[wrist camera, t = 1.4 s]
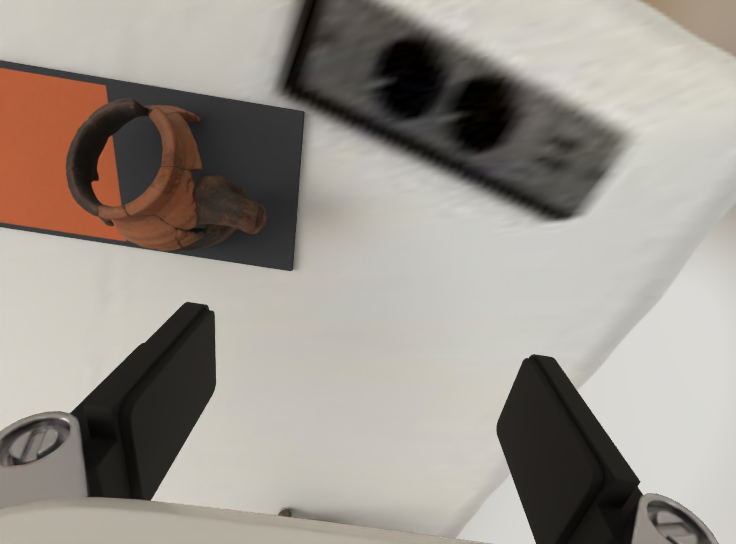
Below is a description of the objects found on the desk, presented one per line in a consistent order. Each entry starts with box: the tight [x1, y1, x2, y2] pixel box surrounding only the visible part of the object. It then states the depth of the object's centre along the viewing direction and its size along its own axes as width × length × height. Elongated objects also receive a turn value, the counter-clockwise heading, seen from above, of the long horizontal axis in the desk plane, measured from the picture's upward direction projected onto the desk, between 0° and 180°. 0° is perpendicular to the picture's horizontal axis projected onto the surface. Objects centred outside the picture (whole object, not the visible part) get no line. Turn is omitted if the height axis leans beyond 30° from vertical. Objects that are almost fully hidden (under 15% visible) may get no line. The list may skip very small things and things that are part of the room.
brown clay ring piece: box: [66, 98, 267, 252], centre depth 24 cm, size 12×10×8 cm
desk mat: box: [0, 61, 304, 271], centre depth 27 cm, size 12×26×1 cm, turn 81°
